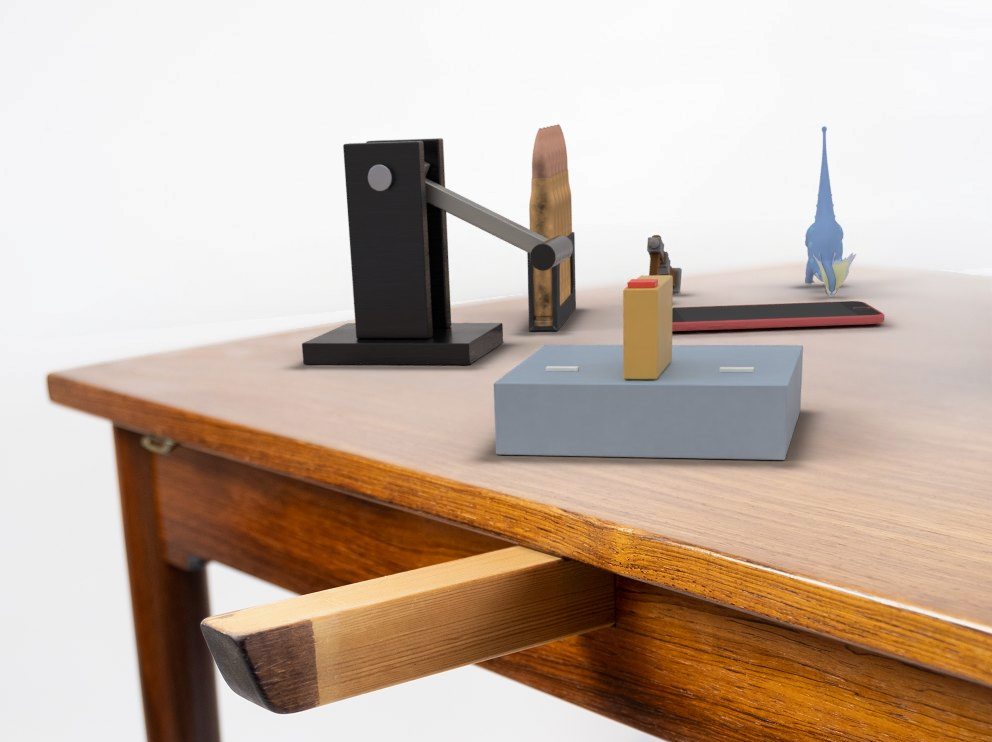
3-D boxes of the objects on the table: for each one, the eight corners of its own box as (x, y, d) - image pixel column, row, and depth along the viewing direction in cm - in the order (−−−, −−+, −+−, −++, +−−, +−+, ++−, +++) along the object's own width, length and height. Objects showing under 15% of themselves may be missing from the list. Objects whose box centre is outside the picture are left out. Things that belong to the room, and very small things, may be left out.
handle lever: (563, 272, 88) (580, 234, 87) (545, 283, 84) (563, 242, 83) (380, 181, 89) (394, 141, 88) (352, 187, 84) (367, 145, 83)
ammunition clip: (549, 308, 106) (545, 124, 101) (576, 308, 105) (573, 123, 101) (528, 331, 96) (523, 129, 91) (557, 331, 96) (553, 127, 91)
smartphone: (888, 315, 92) (658, 323, 92) (888, 324, 92) (658, 332, 92) (863, 299, 98) (647, 307, 99) (862, 309, 99) (647, 316, 99)
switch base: (800, 411, 70) (803, 341, 68) (784, 460, 61) (788, 381, 60) (545, 408, 73) (544, 341, 71) (495, 454, 64) (493, 379, 62)
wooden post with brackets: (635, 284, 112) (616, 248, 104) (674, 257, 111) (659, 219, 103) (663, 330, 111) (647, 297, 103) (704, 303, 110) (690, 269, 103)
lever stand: (503, 342, 92) (496, 135, 88) (469, 365, 85) (460, 140, 80) (348, 342, 95) (334, 141, 90) (303, 364, 87) (285, 146, 83)
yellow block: (640, 360, 66) (640, 269, 64) (672, 360, 66) (673, 269, 64) (623, 379, 62) (622, 282, 60) (657, 379, 61) (657, 282, 60)
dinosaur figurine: (801, 338, 113) (813, 281, 103) (799, 153, 115) (811, 80, 106) (840, 337, 112) (856, 280, 103) (838, 151, 115) (854, 78, 105)
